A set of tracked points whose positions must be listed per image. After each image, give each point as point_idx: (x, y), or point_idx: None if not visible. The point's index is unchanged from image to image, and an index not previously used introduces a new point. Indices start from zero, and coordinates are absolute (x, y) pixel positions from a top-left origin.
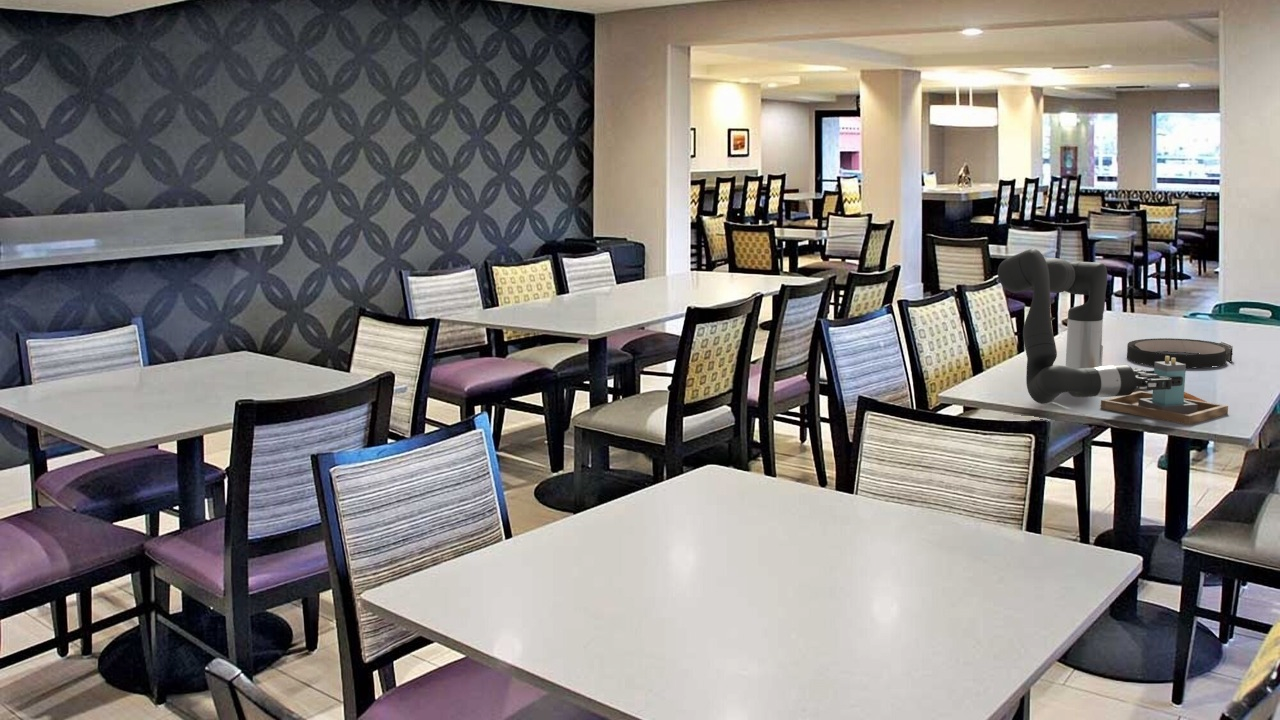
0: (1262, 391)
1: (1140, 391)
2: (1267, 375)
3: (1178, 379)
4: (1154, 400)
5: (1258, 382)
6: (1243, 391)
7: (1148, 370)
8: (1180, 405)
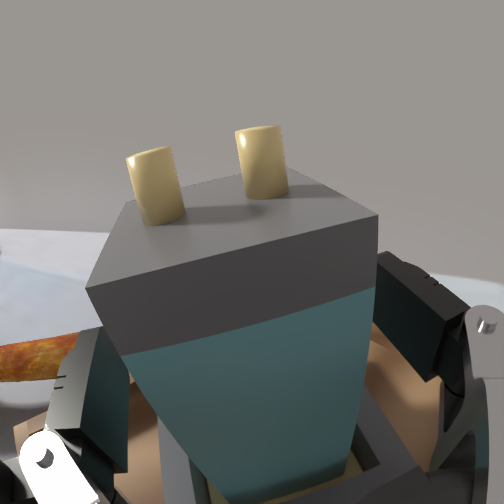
0: (103, 237)
1: (18, 431)
2: (47, 231)
3: (431, 277)
4: (243, 489)
5: (62, 237)
6: (89, 251)
7: (62, 406)
8: (364, 390)
